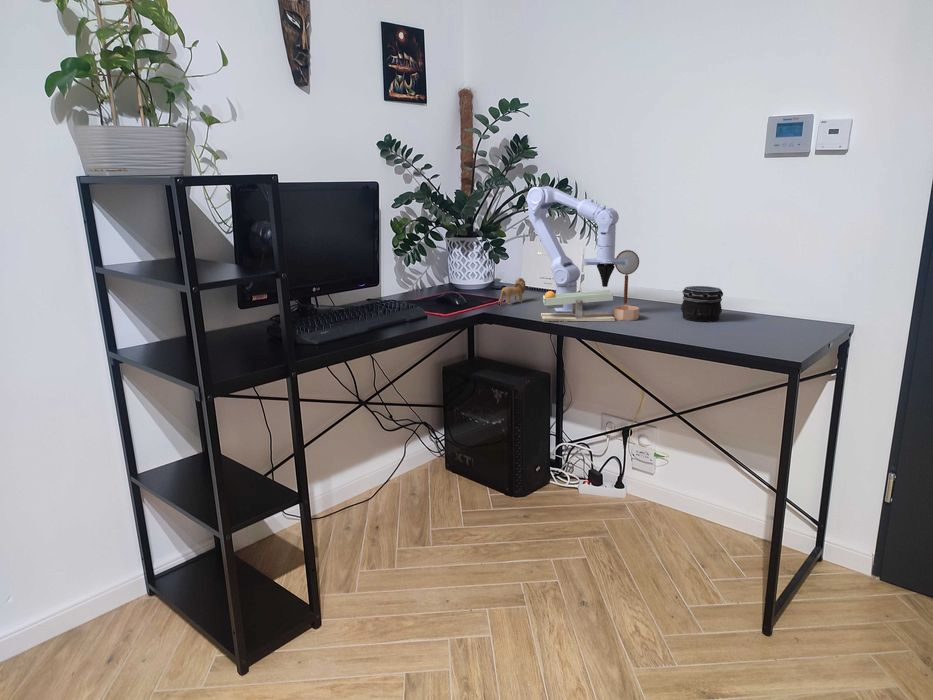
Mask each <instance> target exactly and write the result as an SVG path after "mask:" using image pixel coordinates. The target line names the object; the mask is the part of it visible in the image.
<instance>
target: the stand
mask: <svg viewBox="0 0 933 700" xmlns="http://www.w3.org/2000/svg"><path fill="white" fill-rule="evenodd" d="M540 317H541V320H542V319H543V320H542V322H543V321H559V322H558V323H561V322H560V321H564V322H563V323H568V322H567V321H616V319H615V318H614V317H613V314H612V313H610V312H607V311H605V312H583V300H576V303H573V304H572V312H549V313H548V312H541V313H540ZM565 321H566V322H565Z"/></svg>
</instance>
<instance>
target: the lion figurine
mask: <svg viewBox="0 0 933 700" xmlns="http://www.w3.org/2000/svg"><path fill="white" fill-rule="evenodd" d="M514 281H515V282H514V285H513V286H505V287H502V289H501V291H500V292H501V293H500V298H499V299H498V303H499V302H500V305H501V306H502V305H503V299H504V298H506V303H507V304H508V305H509V304H512V303H511V302H510V300H511V297H512V298H513V301H517V296H518V298H519V300H518V302H523V301H522V299H523V294H524V293H525V292H526V281H525V279H524V278H522V277H518V278H516V279H515V280H514ZM500 305H499V306H500Z"/></svg>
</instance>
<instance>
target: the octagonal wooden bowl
mask: <svg viewBox="0 0 933 700" xmlns="http://www.w3.org/2000/svg"><path fill="white" fill-rule="evenodd" d="M612 316H613V317H614V318H615V321H616V320H617V321H621V320H623V321H625V322H626V321H627V322H628V321H629V322H631V321H637V320H639V318H640V307H638V306H636V305H629V304H628V305H627V304H626V305H615V306H612Z"/></svg>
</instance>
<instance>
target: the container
mask: <svg viewBox="0 0 933 700" xmlns="http://www.w3.org/2000/svg"><path fill="white" fill-rule="evenodd" d="M681 293H682V294H683V296H682V303H681V307H680V311H681V313H682V315H681V316H682V319H684V320H687V321H691V322H692V321H693V322H702V323H704V322H705V323H709V321H712V322H717V321H719V319H720V315H721V313H722V312H723V309H722V303H721V302H722V299H723V298H722V297H723V296H724V292H723V291H722V289H721V288H719V287H714V286H708V285H707V286H706V285H705V286H704V285H692V286H686V287H684V288H683V289H682V291H681ZM716 320H717V321H716Z"/></svg>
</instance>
